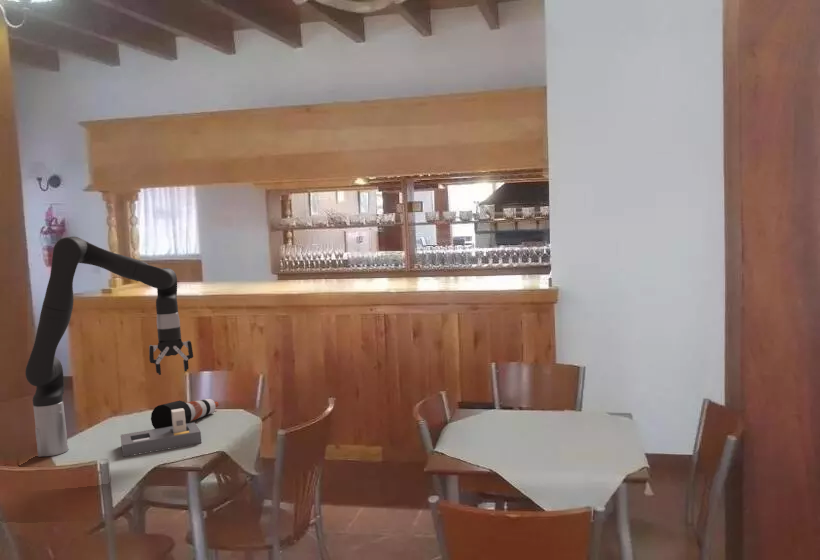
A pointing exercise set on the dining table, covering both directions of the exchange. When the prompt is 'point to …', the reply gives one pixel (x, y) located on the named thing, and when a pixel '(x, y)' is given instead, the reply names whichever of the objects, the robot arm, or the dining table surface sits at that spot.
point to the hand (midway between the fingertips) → (172, 372)
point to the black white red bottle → (192, 409)
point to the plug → (178, 420)
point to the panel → (159, 439)
